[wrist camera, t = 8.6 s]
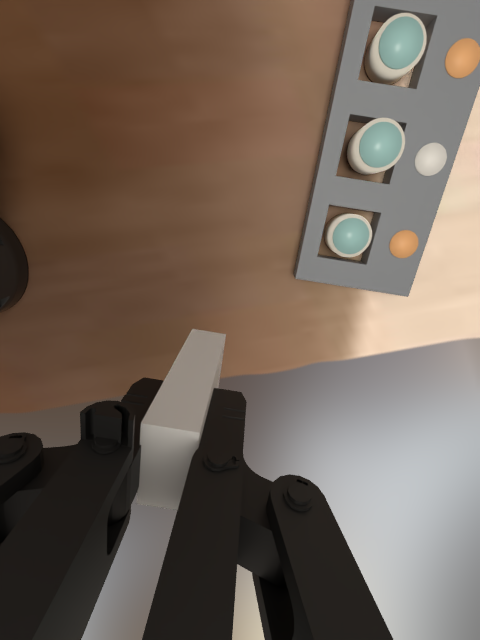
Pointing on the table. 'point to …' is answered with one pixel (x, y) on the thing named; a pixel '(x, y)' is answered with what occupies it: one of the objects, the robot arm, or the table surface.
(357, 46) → the board
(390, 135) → the button
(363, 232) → the button
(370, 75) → the button
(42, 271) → the table surface
